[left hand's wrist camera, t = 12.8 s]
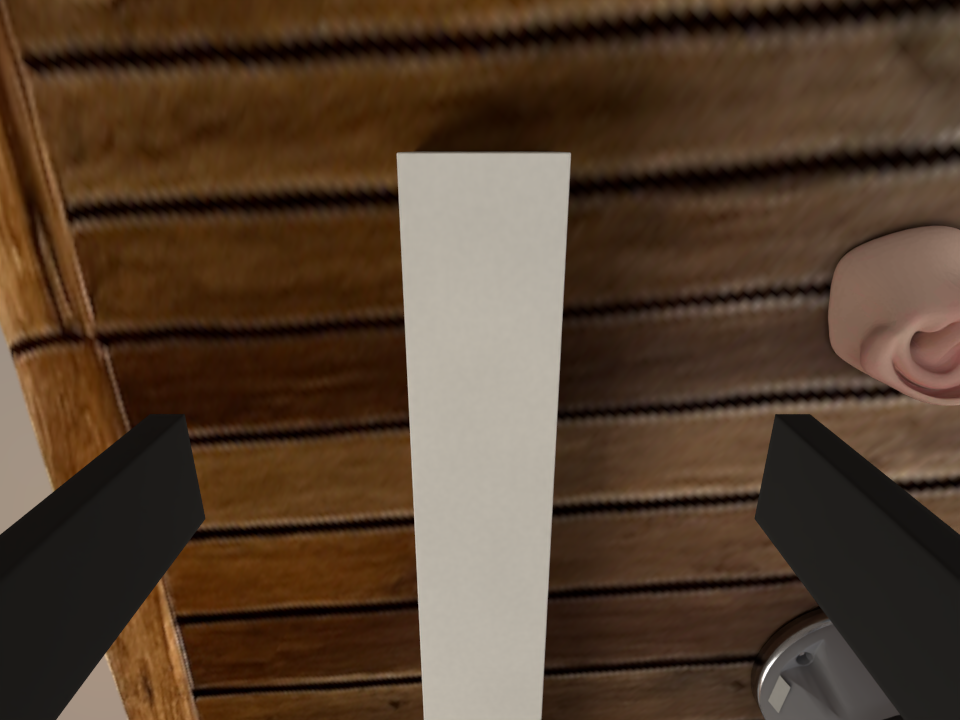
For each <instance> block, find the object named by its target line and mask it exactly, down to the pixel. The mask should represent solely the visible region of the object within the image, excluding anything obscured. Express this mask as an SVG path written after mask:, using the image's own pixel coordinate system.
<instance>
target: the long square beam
mask: <svg viewBox="0 0 960 720" xmlns="http://www.w3.org/2000/svg"><path fill="white" fill-rule="evenodd" d="M570 163H571V153H570V152H398V153H397V171H398V192H399V213H400V233H401V254H402V275H403V295H404V316H405V337H406V357H407V378H408V399H409V419H410V440H411V461H412V481H413V502H414V523H415V543H416V564H417V585H418V605H419V626H420V647H421V667H422V688H423V709H424V720H541V719H542V700H543V681H544V662H545V642H546V623H547V604H548V585H549V566H550V547H551V527H552V508H553V489H554V470H555V451H556V432H557V412H558V393H559V374H560V355H561V336H562V317H563V298H564V278H565V259H566V240H567V221H568V202H569V183H570Z"/></svg>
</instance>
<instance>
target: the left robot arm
mask: <svg viewBox="0 0 960 720" xmlns="http://www.w3.org/2000/svg"><path fill="white" fill-rule="evenodd" d="M204 520H205V514H204V509H203V504H202V499H201V494H200V489H199V484H198V479H197V474H196V469H195V464H194V459H193V454H192V449H191V444H190V439H189V434H188V429H187V424H186V419H185V414H150V415H149V416H147V417H146V418H145V419H144V420H142V421H141V422H140V423H139V424H137V425H136V426H135V427H134V428H132V429H131V430H130V431H129V432H127V433H126V434H125V435H124V436H122V437H121V438H120V439H119V440H118V441H116V442H115V443H114V444H113V445H111V446H110V447H109V448H108V449H106V450H105V451H104V452H103V453H101V454H100V455H99V456H98V457H96V458H95V459H94V460H93V461H91V462H90V463H89V464H88V465H86V466H85V467H84V468H83V469H81V470H80V471H79V472H78V473H76V474H75V475H74V476H73V477H72V478H70V479H69V480H68V481H67V482H65V483H64V484H63V485H62V486H60V487H59V488H58V489H57V490H55V491H54V492H53V493H52V494H50V495H49V496H48V497H47V498H45V499H44V500H43V501H42V502H40V503H39V504H38V505H37V506H35V507H34V508H33V509H32V510H30V511H29V512H28V513H27V514H25V515H24V516H23V517H22V518H21V519H19V520H18V521H17V522H16V523H14V524H13V525H12V526H11V527H9V528H8V529H7V530H6V531H4V532H3V533H2V534H1V535H0V720H56V719H57V718H58V716H59V715H60V714H61V712H62V711H63V710H64V708H65V707H66V706H67V704H68V703H69V702H70V700H71V699H72V698H73V696H74V695H75V694H76V692H77V691H78V689H79V688H80V687H81V685H82V684H83V683H84V681H85V680H86V679H87V677H88V676H89V675H90V673H91V672H92V671H93V669H94V668H95V667H96V665H97V664H98V663H99V661H100V660H101V659H102V657H103V656H104V654H105V653H106V652H107V650H108V649H109V648H110V646H111V645H112V644H113V642H114V641H115V640H116V638H117V637H118V636H119V634H120V633H121V632H122V630H123V629H124V628H125V626H126V625H127V624H128V622H129V621H130V619H131V618H132V617H133V615H134V614H135V613H136V611H137V610H138V609H139V607H140V606H141V605H142V603H143V602H144V601H145V599H146V598H147V597H148V595H149V594H150V593H151V591H152V590H153V589H154V587H155V586H156V584H157V583H158V582H159V580H160V579H161V578H162V576H163V575H164V574H165V572H166V571H167V570H168V568H169V567H170V566H171V564H172V563H173V562H174V560H175V559H176V558H177V556H178V555H179V554H180V552H181V551H182V549H183V548H184V547H185V545H186V544H187V543H188V541H189V540H190V539H191V537H192V536H193V535H194V533H195V532H196V531H197V529H198V528H199V527H200V525H201V524H202V523H203V521H204ZM755 520H756V521H757V523H758V524H759V525H760V527H761V528H762V529H763V531H764V532H765V533H766V535H767V536H768V537H769V539H770V540H771V541H772V543H773V544H774V545H775V547H776V548H777V549H778V551H779V552H780V554H781V555H782V556H783V558H784V559H785V560H786V562H787V563H788V564H789V566H790V567H791V568H792V570H793V571H794V572H795V574H796V575H797V576H798V578H799V579H800V580H801V582H802V583H803V584H804V586H805V587H806V589H807V590H808V591H809V593H810V594H811V595H812V597H813V598H814V599H815V601H816V602H817V603H818V605H819V606H820V607H821V609H822V610H823V611H824V613H825V614H826V615H827V617H828V618H829V619H830V621H831V622H832V624H833V625H834V626H835V628H836V629H837V630H838V632H839V633H840V634H841V636H842V637H843V638H844V640H845V641H846V642H847V644H848V645H849V646H850V648H851V649H852V650H853V652H854V653H855V654H856V656H857V657H858V659H859V660H860V661H861V663H862V664H863V665H864V667H865V668H866V669H867V671H868V672H869V673H870V675H871V676H872V677H873V679H874V680H875V681H876V683H877V684H878V685H879V687H880V688H881V689H882V691H883V692H884V694H885V695H886V696H887V698H888V699H889V700H890V702H891V703H892V704H893V706H894V707H895V708H896V710H897V711H898V712H899V714H900V715H901V716H902V718H903V719H904V720H960V535H959V534H958V533H957V532H956V531H954V530H953V529H952V528H951V527H949V526H948V525H947V524H946V523H944V522H943V521H942V520H941V519H939V518H938V517H937V516H936V515H935V514H933V513H932V512H931V511H930V510H928V509H927V508H926V507H925V506H923V505H922V504H921V503H920V502H918V501H917V500H916V499H915V498H913V497H912V496H911V495H910V494H908V493H907V492H906V491H905V490H903V489H902V488H901V487H900V486H898V485H897V484H896V483H895V482H893V481H892V480H891V479H890V478H888V477H887V476H886V475H885V474H884V473H882V472H881V471H880V470H879V469H877V468H876V467H875V466H874V465H872V464H871V463H870V462H869V461H867V460H866V459H865V458H864V457H862V456H861V455H860V454H859V453H857V452H856V451H855V450H854V449H852V448H851V447H850V446H849V445H847V444H846V443H845V442H844V441H842V440H841V439H840V438H839V437H838V436H836V435H835V434H834V433H833V432H831V431H830V430H829V429H828V428H826V427H825V426H824V425H823V424H821V423H820V422H819V421H818V420H816V419H815V418H814V417H813V416H811V415H810V414H775V419H774V424H773V429H772V434H771V439H770V444H769V449H768V454H767V459H766V464H765V469H764V474H763V479H762V484H761V489H760V494H759V499H758V504H757V509H756V514H755Z"/></svg>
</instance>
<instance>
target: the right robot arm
mask: <svg viewBox="0 0 960 720" xmlns="http://www.w3.org/2000/svg"><path fill="white" fill-rule="evenodd" d="M751 688H752V692H753V696H754V698H755V700H756V702H757V704H758V706H759V708H760V710H761V712H762V714H763V716H764V718H765V720H904V719H903V718H902V716H901V715H900V714H899V712H898V711H897V710H896V708H895V707H894V706H893V704H892V703H891V702H890V700H889V699H888V698H887V696H886V695H885V694H884V692H883V691H882V689H881V688H880V687H879V685H878V684H877V683H876V681H875V680H874V679H873V677H872V676H871V675H870V673H869V672H868V671H867V669H866V668H865V667H864V665H863V664H862V663H861V661H860V660H859V659H858V657H857V656H856V654H855V653H854V652H853V650H852V649H851V648H850V646H849V645H848V644H847V642H846V641H845V640H844V638H843V637H842V636H841V634H840V633H839V632H838V630H837V629H836V628H835V626H834V625H833V624H832V622H831V621H830V619H829V618H828V617H827V615H826V614H825V613H824V611H823V610H822V609H821V608H820V609H817V610H814V611H812V612H809V613H807V614H804V615H802V616H800V617H799V618H797V619H795V620H793V621H792V622H790V623H788V624H787V625H785V626H784V627H783V628H781V629H780V630H779V631H778V632H776V633H775V634H774V635H773V636H772V637H771V638H770V639H769V640H768V642H767V643H766V644H765V645H764V646H763V648H762V649H761V651H760V652H759V654H758V656H757V658H756V660H755V663H754V665H753V669H752V674H751Z"/></svg>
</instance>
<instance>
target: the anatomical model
mask: <svg viewBox="0 0 960 720" xmlns="http://www.w3.org/2000/svg"><path fill="white" fill-rule="evenodd" d="M828 324H829V338H830V342H831V346H832V348H833V350H834V351H835V352H836V354H837V355H838V356H839V357H841V358H842V359H843V360H844V361H846V362H847V363H849V364H850V365H852V366H854V367H855V368H857V369H859V370H860V371H862V372H864V373H866V374H868V375H869V376H871V377H873V378H874V379H876V380H879V381H881V382H883V383H885V384H887V385H889V386H891V387H892V388H894V389H896V390H898V391H900V392H902V393H903V394H905V395H907V396H910V397H912V398H914V399H917V400H920V401H923V402H926V403H931V404H936V405H960V230H959V229H956V228H953V227H947V226H924V227H917V228H912V229H907V230H903V231H899V232H895V233H892V234H888V235H885V236H882V237H880V238H877V239H874V240H871V241H869V242H866V243H864V244H862V245H860V246H858V247H856V248H854V249H852V250H851V251H850V252H848V253H847V254H846V255H845V256H844V257H843V258H842V259H841V260H840V261H839V263H838V264H837V266H836V269H835V271H834V274H833V279H832V284H831V290H830V300H829V309H828Z"/></svg>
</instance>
